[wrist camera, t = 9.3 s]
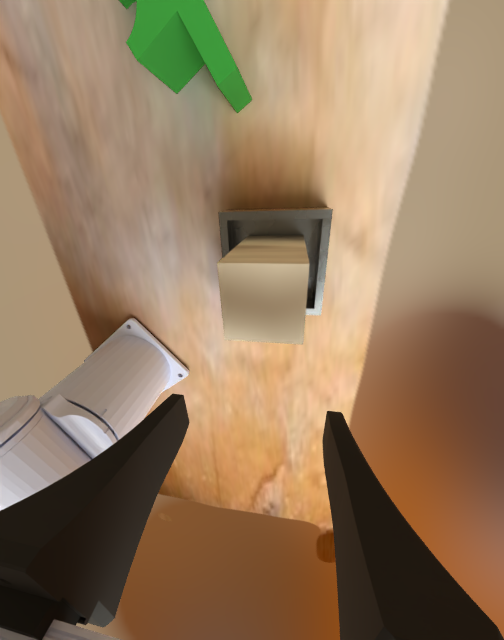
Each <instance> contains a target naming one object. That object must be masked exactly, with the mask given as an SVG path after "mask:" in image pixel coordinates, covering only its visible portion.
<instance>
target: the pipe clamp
mask: <svg viewBox="0 0 504 640" xmlns="http://www.w3.org/2000/svg"><path fill="white" fill-rule="evenodd" d="M119 1H120V2H121V3H122V4H123V5H124V6H125V8H126V9H127V8H128V7H129V6H130V5H131V4H132V3H134V2H135V1H137V9H136V18H135V23H134V27H133V30H132V33H131V35H130V37H129V39H128V40H127V42H126V43H127V45H128V46H129V48H130V50H131V51H132V53H133V54H134V56H135V58H136V59H137V61H138V62H140V63H141V64H142V65H143V66H144V67H146V68H147V69H148V70H149V71H150V72H151V73H153V74H154V75H155V76H156V77H157V78H159V79H160V80H161V81H162V82H163V83H165V84H166V85H167V86H168V87H169V88H170V89H172V90H173V91H174V92H175V93H176V94H177V93H178V92H179V91H180V90H181V89H182V88H183V87H184V86H185V85H186V84H187V83H188V82H189V81H190V79H191V78H192V77H193V76H194V75H195V74H196V73H197V72H198V71H199V70H200V69H201V68H202V67H203V66H204V64H206V65H207V67H208V69H209V71H210V73H211V75H212V77H213V79H214V80H215V82H216V84H217V86H218V87H219V89H220V90H221V92H222V93H223V94H224V96H225V97H226V98H227V100H228V101H229V103H230V104H231V105H232V107H233V108H234V109H235V111H236V112H237V113H238V112H239V111H240V110H241V109H243V108H244V107H245V106H246V105H247V104H248V103H249V102H250V101H251V100H252V98H251V96H250V94H249V92H248V90H247V87H246V85H245V83H244V81H243V79H242V77H241V74H240V72H239V70H238V68H237V66H236V64H235V62H234V60H233V58H232V56H231V54H230V52H229V50H228V48H227V46H226V44H225V42H224V40H223V38H222V36H221V34H220V32H219V30H218V28H217V26H216V24H215V22H214V20H213V18H212V16H211V14H210V12H209V10H208V8H207V6H206V4H205V2H204V0H119Z"/></svg>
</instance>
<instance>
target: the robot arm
mask: <svg viewBox="0 0 504 640" xmlns="http://www.w3.org/2000/svg"><path fill="white" fill-rule="evenodd" d="M129 325H130V326H131V327H130V326H129ZM181 374H182V375H181ZM188 374H189V370H188V369H187V368H186V367H185V366H184V365H183V364H182V363H181V362H180V361H179V360H178V359H177V358H176V357H175V356H174V355H172V354H171V353H170V352H169V351H168V350H167V349H166V348H165V347H164V346H163V345H162V344H161V343H160V342H159V341H158V340H157V339H156V338H155V337H154V336H153V335H152V334H151V333H150V332H149V331H147V330H146V329H145V328H144V327H143V326H142V325H141V324H140V323H139V322H138V321H137V320H136V319H134V318H130V319H128V320H127V321H126V322H125V323H124V324H123V325H122V326H121V327H120V328H119V329H118V330H116V331H115V332H114V333H113V334H112V335H111V336H110V337H109V338H108V339H107V340H106V341H105V342H103V343H102V344H101V345H100V346H99V347H98V348H97V349H96V350H95V351H94V352H93V353H92V354H91V355H90V356H88V357H87V358H86V359H85V360H84V363H83V364H82V365H81V366H79V367H78V368H77V369H75V371H73V372H72V373H70V374H69V375H68V376H67V377H66V378H64V379H63V380H62V381H60V382H59V383H58V384H57V385H56V386H54V387H53V388H52V389H51V390H49V391H48V392H47V393H45V394H44V395H43V396H42V397H40V398H39V399H37V398H36V397H35V396H32V395H28V396H15V397H12V398H9V399H6V400H4V401H2V402H0V640H121V639H117V638H114V637H110V636H107V635H104V634H101V633H98V632H94V631H91V630H88V629H84V628H81V627H78V626H76V623H80V624H84V625H86V624H87V623H90V624H93V625H97V626H100V627H105V626H106V625H108V624H109V623H110V622H111V621H112V620H113V619H114V618H115V615H116V611H117V608H118V605H119V602H120V599H121V595H122V592H123V589H124V586H125V583H126V579H127V576H128V573H129V570H130V567H131V564H132V562H133V559H134V556H135V553H136V550H137V547H138V544H139V541H140V539H141V536H142V533H143V530H144V528H145V525H146V522H147V519H148V517H149V514H150V512H151V509H152V507H153V504H154V501H155V499H156V496H157V494H158V492H159V490H160V487H161V485H162V483H163V481H164V479H165V477H166V475H167V473H168V471H169V469H170V467H171V465H172V463H173V461H174V459H175V457H176V455H177V453H178V451H179V449H180V446H181V444H182V442H183V439H184V437H185V434H186V431H187V428H188V425H189V418H188V414H187V409H186V404H185V400H184V395H179V394H172V395H171V396H170V397H168V398H167V399H166V400H165V401H164V402H163V403H162V404H160V405H159V406H158V407H157V408H156V409H155V410H154V411H153V412H152V413H150V414H149V415H148V416H147V417H146V418H145V416H146V415H147V413H148V412H149V410H150V409H151V407H152V406H153V404H154V403H155V401H156V400H157V398H158V397H159V395H160V394H161V393H162V392H163V391H165V390H166V389H168V388H170V387H171V386H173V385H174V384H176V383H177V382H179V381H180V380H182V379H184V378H185V377H187V376H188ZM144 418H145V419H144ZM143 419H144V420H143ZM323 458H324V468H325V475H326V481H327V488H328V494H329V501H330V508H331V514H332V522H333V530H334V543H335V557H336V572H337V586H338V587H337V588H338V604H339V622H340V640H504V639H503V637H502V635H501V633H500V631H499V629H498V627H497V626H496V625H495V624H494V623H493V622H492V620H491V619H490V618H489V617H488V616H487V615H486V614H485V613H484V612H483V611H482V610H481V609H480V607H478V605H477V604H476V603H475V602H474V601H473V600H472V599H471V598H470V596H469V595H468V594H467V593H466V592H465V591H464V590H463V589H462V587H461V586H460V585H459V584H458V583H457V582H456V581H455V580H454V578H453V577H452V576H451V575H450V574H449V573H448V571H447V570H446V569H445V568H444V567H443V566H442V564H441V563H440V562H439V561H438V560H437V559H436V557H435V556H434V555H433V554H432V552H431V551H430V550H429V549H428V547H427V546H426V545H425V544H424V542H423V541H422V540H421V539H420V537H419V536H418V535H417V534H416V532H415V531H414V530H413V529H412V527H411V526H410V525H409V523H408V522H407V521H406V519H405V518H404V517H403V516H402V514H401V513H400V511H399V510H398V509H397V507H396V506H395V504H394V503H393V502H392V500H391V499H390V497H389V496H388V495H387V493H386V492H385V490H384V488H383V487H382V485H381V484H380V482H379V481H378V479H377V478H376V476H375V474H374V473H373V471H372V470H371V468H370V466H369V465H368V463H367V461H366V459H365V458H364V456H363V454H362V452H361V451H360V449H359V447H358V445H357V443H356V442H355V440H354V438H353V436H352V434H351V432H350V430H349V427H348V425H347V423H346V421H345V419H344V416H343V414H342V413H341V412H332V411H327V415H326V421H325V428H324V434H323Z"/></svg>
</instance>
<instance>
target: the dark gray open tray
mask: <svg viewBox="0 0 504 640" xmlns="http://www.w3.org/2000/svg"><path fill="white" fill-rule="evenodd" d="M332 210H333V209H331V208H328V207H320V208H281V209H242V210H225V211H221V212H219V223H220V235H221V247H222V258H223V257H225V256H226V255H227V254H228V253H229V252H230V251H231V250H233V249H234V248H235V247H236V246H237V245H238V244H239V243H240V242H242V241H243V240H244V239H245V238H246V237H247V236H282V235H304V239H305V244H306V249H307V254H308V259H309V276H308V289H307V302H306V315H321V310H322V301H323V292H324V283H325V274H326V265H327V255H328V246H329V237H330V228H331V219H332Z"/></svg>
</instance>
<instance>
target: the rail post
mask: <svg viewBox="0 0 504 640" xmlns="http://www.w3.org/2000/svg"><path fill="white" fill-rule="evenodd" d="M217 267H218V277H219V287H220V298H221V308H222V318H223V328H224V338H225V340H235V341H252V342H269V343H286V344H303V341H304V328H305V315H306V302H307V289H308V276H309V259H308V254H307V249H306V244H305V239H304V235H282V236H247V237H246V238H245V239H244V240H243V241H242V242H240V243H239V244H238V245H237V246H236V247H235V248H234V249H233V250H231V251H230V252H229V253H228V254H227V255H226V256H225V257H223V258H222V259H221V260H220V261H219V262H218V263H217Z"/></svg>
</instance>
